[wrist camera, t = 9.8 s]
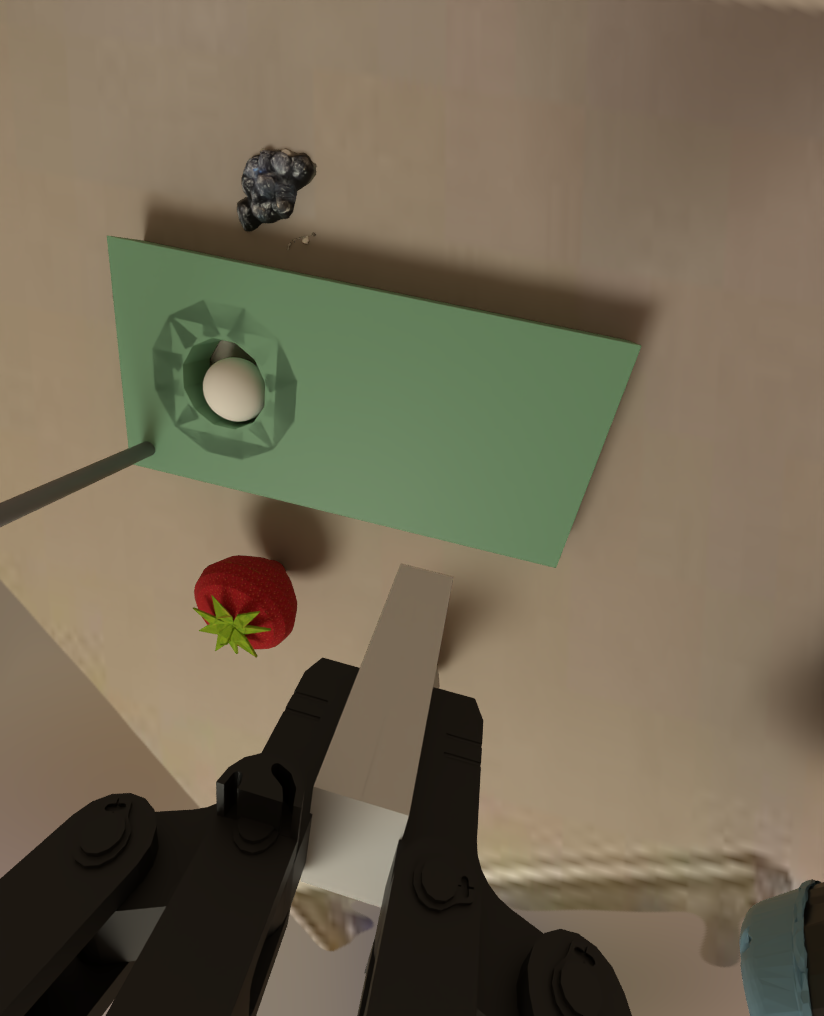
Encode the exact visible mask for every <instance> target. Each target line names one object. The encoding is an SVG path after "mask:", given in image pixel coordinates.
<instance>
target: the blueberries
mask: <svg viewBox="0 0 824 1016" xmlns="http://www.w3.org/2000/svg"><path fill="white" fill-rule="evenodd" d="M315 175H316V164H315V163H313V162H312V161H311V159H310V158H309V156H308V155H307V154H306V153H300V154H297V153H295V152H291V151H290V150H288V149H284V150H266V149H264V148H262V149H261V151H260V155H257V156H254V157H252V158H251V159H249V160H248V161H247V163H246V167H245V169H244V171H243V176H242V188H243V191H244V193H245V194H246V195H247V197H245V198H244V199H242V200H240V201H239V202H238V203H237V212H238V216H239V220H240V222H241V224H242V226H243V228H244V230H245V231H253V230H255V229H256V228H258V227H259V226H260V225H261V224H262V223H274V222H277V221H278V220H280V219H287V218H289V217H290V215H291V214H292V213H293V209H294V204H295V201H296V196H297V191H298V190H299V189H301V188H303V187H304V186H306V185H307V184H309V183H310V182H311V181H312V179H313V178H314V176H315ZM312 235H313V236H316V234H315V233H312ZM312 235H311V236H312ZM296 239H297V240H298V239H300V237H299V238H296ZM293 240H294V243H295V239H293ZM293 240H292V241H293ZM308 241H309V239H308V236H307V235H306V236H304V237H302V242H303V243H305V244H308V243H307V242H308ZM290 245H291V242H290V243H289V244H288V249H287V250H289V246H290Z"/></svg>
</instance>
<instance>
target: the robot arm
mask: <svg viewBox="0 0 824 1016" xmlns="http://www.w3.org/2000/svg"><path fill="white" fill-rule="evenodd" d="M452 582H453V577H452V576H448V575H444V574H440V573H436V572H432V571H429V570H425V569H421V568H417V567H413V566H409V565H405V564H401V565H400V567H399V570H398V572H397V575H396V577H395V580H394V583H393V585H392V588H391V590H390V593H389V595H388V598H387V600H386V603H385V606H384V608H383V611H382V613H381V616H380V618H379V621H378V623H377V626H376V628H375V631H374V634H373V636H372V639H371V641H370V644H369V646H368V649H367V651H366V654H365V656H364V659H363V662H362V664H361V667H360V668H358V667H354V666H351V665H347V664H344V663H340V662H337V661H333V660H329V659H326V658H321V659H320V660H319V661H318V662H316V663H315V664H314V665H313V666H311V667H310V668H309V669H308V670H306V671H305V673H304V674H303V676H302V678H301V680H300V682H299V684H298V686H297V688H296V689H295V692H294V695H292V697H291V699H290V701H289V702H288V704H287V706H286V709H285V711H284V712H283V714H282V716H281V717H280V719H279V721H278V723H277V725H276V727H275V729H274V730H273V732H272V734H271V736H270V738H269V740H268V742H267V744H266V745H265V747H264V749H263V751H262V753H260V754H256V755H252V756H248V757H244V758H243V759H241V760H239V761H238V762H236V763H235V764H233V765H231V766H230V767H228V769H227V770H226V771H225V772H224V773H223V775H222V776H221V777H220V778H219V779H218V780H217V782H216V797H217V804H214V805H212V806H209V807H206V808H200V809H194V810H179V811H162V812H155V811H154V809H153V808H152V806H151V805H150V804H149V803H148V801H147V800H146V799H145V798H142V797H140V796H137V795H134V794H132V793H123V794H111V795H108V796H106V797H103V798H101V799H98V800H95V801H92V802H91V803H89V804H88V805H87V806H85V807H84V808H82V809H81V810H79V811H78V812H76V813H75V814H73V815H72V816H71V817H70V818H69V819H68V820H66V821H65V822H64V823H63V824H62V825H61V826H60V827H59V828H57V829H56V830H55V831H54V832H53V833H52V834H51V835H49V836H48V837H47V838H46V839H45V840H44V841H43V842H42V843H40V844H39V845H38V846H37V847H36V848H35V849H34V850H33V851H31V852H30V853H29V854H28V855H27V856H26V857H25V858H24V859H22V860H21V861H20V862H19V863H18V864H17V865H15V866H14V867H13V868H12V869H11V870H10V871H9V872H7V873H6V874H5V875H4V876H3V877H2V878H1V879H0V1016H102V1015H103V1014H104V1012H105V1011H106V1010H107V1008H108V1007H109V1006H110V1004H111V1003H112V1002H113V1003H112V1005H111V1007H110V1009H109V1011H108V1012H107V1014H106V1016H256V1014H257V1011H258V1008H259V1006H260V1003H261V1000H262V996H263V994H264V991H265V988H266V985H267V982H268V979H269V977H270V974H271V971H272V968H273V965H274V962H275V959H276V956H277V953H278V951H279V948H280V945H281V942H282V939H283V936H284V933H285V930H286V927H287V924H288V918H289V913H290V908H291V903H292V900H293V897H294V895H295V892H296V889H297V886H298V883H299V880H300V878H301V882H304V883H307V884H310V885H313V886H316V887H319V888H322V889H325V890H328V891H331V892H335V893H338V894H341V895H344V896H347V897H350V898H353V899H356V900H359V901H362V902H365V903H368V904H371V905H375V906H378V907H381V911H380V916H379V921H378V925H377V931H376V935H375V939H374V942H373V946H372V949H371V953H370V956H369V959H368V963H367V966H366V969H365V973H366V977H365V982H364V987H363V991H362V996H361V1001H360V1006H359V1010H358V1015H357V1016H632V1015H631V1012H630V1009H629V1006H628V1003H627V999H626V997H625V993H624V991H623V989H622V987H621V985H620V983H619V981H618V978H617V976H616V974H615V972H614V970H613V968H612V966H611V965H610V964H609V962H608V961H607V960H606V959H605V957H604V956H603V955H602V953H601V952H600V951H599V950H598V949H597V947H596V946H594V945H593V944H592V943H590V942H589V941H588V940H586V939H584V937H582V936H580V935H579V934H577V933H574V932H570V931H566V930H563V929H559V930H554V931H551V932H547V933H544V934H543V933H542V932H541V931H539V930H538V929H537V928H535V927H534V926H533V925H531V924H530V923H529V922H527V921H526V920H525V919H523V918H522V917H521V916H519V915H518V914H517V913H515V912H514V911H513V910H511V909H510V908H509V907H508V906H507V905H506V904H505V903H504V902H503V901H501V900H500V899H499V898H498V896H497V895H496V894H495V892H494V891H493V890H492V888H491V887H490V886H489V884H488V882H487V880H486V878H485V876H484V874H483V872H482V870H481V866H480V862H479V859H478V853H477V829H478V810H479V791H480V772H481V767H480V765H481V754H482V748H481V746H482V735H483V719H482V716H481V713H480V711H479V708H478V705H477V703H476V700H475V699H474V698H471V697H467V696H464V695H460V694H456V693H453V692H449V691H446V690H442V689H438V688H435V687H433V684H434V679H435V673H436V668H437V662H438V657H439V652H440V646H441V641H442V636H443V630H444V625H445V620H446V614H447V609H448V603H449V598H450V593H451V587H452ZM301 875H302V876H301ZM740 954H741V972H742V979H743V985H744V990H745V995H746V1000H747V1004H748V1008H749V1013H750V1016H824V882H820V881H815V880H813V879H812V880H808V881H805V882H803V883H802V884H801V886H800V887H799V888H798V889H795V890H792V891H790V892H787V893H784V894H781V895H778V896H775V897H772V898H769V899H766V900H763V901H760V902H759V903H757V904H755V905H754V906H753V907H751V908H750V910H749V911H748V912H747V914H746V916H745V918H744V921H743V924H742V927H741V934H740ZM114 999H115V1000H114ZM113 1000H114V1001H113Z"/></svg>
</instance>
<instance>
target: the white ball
mask: <svg viewBox="0 0 824 1016" xmlns="http://www.w3.org/2000/svg"><path fill="white" fill-rule="evenodd" d="M203 392H204V396H205V399H206V401H207V403H208V405H209V406H210V408H211V409H212V410H213V411H214V412H215V413H216V414H218V415H219V416H221V417H223V418H225V419H227V420H231V421H238V422H240V421H247V420H251V419H253V418H255V417H256V416H258V415H259V414H260V412H261V411H262V409H263V408H264V406H265V381H264V379H263V377H262V375H261V373H260V370H259V368H258V367H257V366H256V365H255V364H253V363H252V362H250V361H248V360H245V359H242V358H236V357H230V358H224V359H221V360H219V361H217V362H216V363H214V364H213V365H212V366H211V367H210V368H209V369H208V371H207V372H206V375H205V377H204V381H203Z"/></svg>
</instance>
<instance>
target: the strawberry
mask: <svg viewBox="0 0 824 1016" xmlns="http://www.w3.org/2000/svg"><path fill="white" fill-rule="evenodd" d="M194 594H195V600H196V603H197V606H198V609H197V608H193V609H194V610H195V611H196V612H197V613H198V614H200V615H201V616H202V618H203V619H204V621H205V622H206V623H207V626H206V627H204V628H202V629H200V630H199V631H202V632H207V633H212V634H217V635H218V638H217V644H216V650H215V651H217V650H218V649H220V648H221V647H223V646H224V645H227V644H228V643H229V644H230V645H231V647H232V648H233V650H234V651H235V653H236V654H238V647H237V646H240V647H241V648H243V649H244V650H246V651H247V652H249V653H250V654H252V655H253V656H255V657H257V654H256V652H255V651H254V649H269V648H272V647H275V646H277V645H278V644H280V643H281V642H282V641H283V640H284V639H285V638H286V637H287V636H288V635H289V634H290V633H291V632H292V630H293V627H294V622H295V617H296V611H297V600H296V596H295V592H294V589H293V586H292V583H291V580H290V578H289V577H288V575H287V573H286V570H285V568H284V566H283V565H282V564H281V563H279V562H278V561H275V560H268V559H265V558H261V557H252V556H239V555H238V556H231V557H229V558H226V559H224V560H221V561H219V562H216V563H214V564H211V565H209V566H208V567H207V568H205V569H204V571H203V573H202V574H201V576H200V578H199V579H198V581H197V583H196V585H195V590H194Z"/></svg>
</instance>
